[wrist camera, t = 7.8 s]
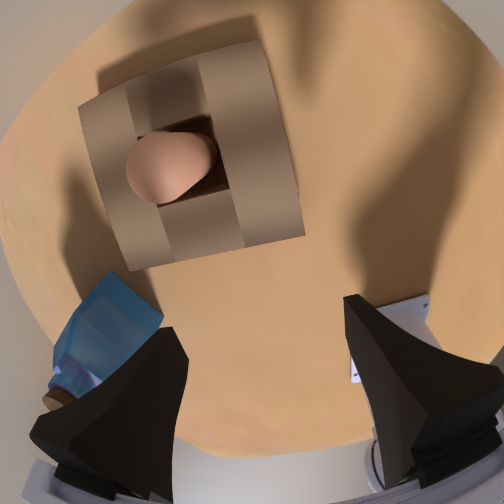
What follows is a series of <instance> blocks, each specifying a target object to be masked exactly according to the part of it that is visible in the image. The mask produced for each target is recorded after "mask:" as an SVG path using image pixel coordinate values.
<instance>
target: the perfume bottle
mask: <svg viewBox="0 0 504 504" xmlns="http://www.w3.org/2000/svg"><path fill="white" fill-rule="evenodd" d="M163 318H164V316H163V315H161V314H160V313H159V312H158V311H157V310H155V309H154V308H153V307H152V306H150V305H149V304H148V303H147V302H146V301H145V300H143V299H142V298H141V297H140V296H139V295H137V294H136V293H135V292H134V291H133V290H132V289H131V288H129V287H128V286H127V285H126V284H125V283H124V282H123V281H122V280H120V279H119V278H118V277H117V276H116V275H115V274H114V273H113V272H112V271H110V272H109V273H108V274H107V275H106V276H105V277H104V278H103V279H102V280H101V282H100V283H99V284H98V285H97V286H96V287H95V288H94V289H93V290H92V292H91V293H90V294H89V295H88V296H87V297H86V298H85V300H84V301H83V302H82V303H81V304H80V305H79V306H78V308H77V309H76V310H75V311H74V313H73V314H72V316H71V318H70V319H69V321H68V323H67V325H66V326H65V328H64V330H63V332H62V333H61V335H60V337H59V339H58V340H57V342H56V344H55V346H54V354H53V356H54V357H53V371H54V372H55V373H56V374H55V375H54V376H53V377H52V379H51V380H50V382H49V384H48V388H49V392H48V393H47V394H46V395H45V396H44V397H42V401H43V403H44V404H45V406H46V407H47V408H48V409H49V410H50V411H53V410H56V409H58V408H60V407H63V406H65V405H67V404H69V403H71V402H72V401H74V400H76V399H78V398H80V397H81V396H83V395H84V394H86V393H87V392H89V391H90V390H92V389H93V388H95V387H96V386H98V385H99V384H100V383H102V382H103V381H104V380H105V379H107V378H108V377H109V376H110V375H112V374H113V373H114V372H115V371H116V370H117V369H118V368H119V367H120V366H121V365H122V364H124V363H125V362H126V361H127V360H128V359H129V358H130V357H131V356H132V355H133V354H134V353H135V352H136V351H137V350H138V349H139V348H140V347H141V346H142V345H143V344H144V343H145V342H146V341H147V340H148V339H149V338H150V337H151V336H152V335H153V334H154V333H155V332H156V331H157V330H158V329H159V327H160V325H161V322H162V320H163Z"/></svg>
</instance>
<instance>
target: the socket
mask: <svg viewBox="0 0 504 504" xmlns="http://www.w3.org/2000/svg"><path fill="white" fill-rule="evenodd" d="M78 112H79V116H80V121H81V126H82V130H83V134H84V138H85V142H86V146H87V150H88V154H89V158H90V161H91V165H92V168H93V172H94V175H95V179H96V182H97V185H98V188H99V191H100V195H101V198H102V201H103V204H104V207H105V209H106V212H107V215H108V218H109V221H110V224H111V226H112V229H113V232H114V234H115V237H116V240H117V242H118V245H119V247H120V250H121V252H122V255H123V257H124V259H125V262H126V264H127V267H128V269H129V271H130V272H131V271H136V270H141V269H146V268H150V267H155V266H160V265H165V264H169V263H174V262H179V261H184V260H188V259H193V258H198V257H203V256H208V255H212V254H217V253H222V252H227V251H232V250H236V249H241V248H246V247H251V246H256V245H261V244H266V243H271V242H275V241H280V240H285V239H290V238H295V237H300V236H305V229H304V223H303V218H302V212H301V207H300V202H299V196H298V191H297V186H296V181H295V176H294V172H293V167H292V162H291V157H290V153H289V148H288V144H287V139H286V135H285V131H284V126H283V122H282V118H281V114H280V110H279V106H278V102H277V98H276V94H275V90H274V86H273V82H272V79H271V75H270V71H269V68H268V64H267V60H266V57H265V53H264V50H263V47H262V43H261V40H260V39H258V40H252V41H247V42H243V43H238V44H234V45H230V46H226V47H222V48H218V49H214V50H211V51H207V52H204V53H200V54H197V55H194V56H191V57H187V58H184V59H181V60H179V61H176V62H173V63H170V64H167V65H165V66H162V67H159V68H157V69H154V70H152V71H149V72H147V73H144V74H142V75H140V76H137V77H135V78H133V79H131V80H129V81H126V82H124V83H122V84H120V85H118V86H116V87H114V88H112V89H110V90H108V91H106V92H104V93H102V94H100V95H98V96H96V97H94V98H93V99H91V100H89V101H87V102H85V103H84V104H82V105H80V106H79V107H78ZM210 117H211V118H212V121H213V125H214V129H215V133H216V137H217V141H218V145H219V148H220V152H221V156H222V160H223V164H224V168H225V171H226V175H227V179H228V182H226V183H222V184H218V185H214V186H210V187H206V188H202V189H199V190H195V191H191V192H188V193H184V194H182V195H181V196H179V197H178V198H177V199H175V200H173V201H171V202H168V203H163V204H155V203H150V202H147V201H145V200H143V199H142V198H140V197H139V196H138V195H137V194H136V193H135V192H134V191H133V190H132V188H131V186H130V185H129V182H128V179H127V175H126V162H127V158H128V155H129V152H130V150H131V149H132V147H133V146H134V145H135V144H136V143H137V142H138V141H139V140H140V139H141V138H143V137H145V136H147V135H150V134H153V133H163V132H166V131H168V130H171V129H174V128H177V127H180V126H184V125H187V124H190V123H193V122H196V121H200V120H203V119H207V118H210Z"/></svg>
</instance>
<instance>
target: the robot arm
mask: <svg viewBox="0 0 504 504" xmlns="http://www.w3.org/2000/svg"><path fill="white" fill-rule="evenodd" d="M343 300H344V316H345V335H346V339H347V343H348V347H349V350H350V354H351V382H352V383H357V382H361V384H362V387H363V390H364V393H365V397H366V400H367V403H368V407H369V410H370V413H371V417H372V420H373V422H374V425H375V426H374V427H373V428H372V431H373V434H374V438H375V439H374V440H372V441H371V442H370V443H369V444H368V446H367V448H366V451H365V458H364V471H365V475H366V479H367V481H368V483H369V485H370V487H371V488H372V490H373V491H374V492H375V493H374V494H370V495H367V496H363V497H359V498H355V499H351V500H346V501H341V502H337V503H331V504H504V503H503V500H504V416H503V414H502V412H501V410H500V408H501V407H502V405H503V404H504V374H503V373H502V372H501V370H500V369H499V368H498V366H493V365H489V364H484V363H479V362H475V361H471V360H468V359H465V358H461V357H458V356H456V355H453V354H450V353H448V352H445V351H444V350H443V349H442V347H441V346H440V344H439V343H438V341H437V340H436V338H435V337H434V335H433V334H432V332H431V331H430V329H429V328H428V326H427V325H426V323H427V317H428V311H429V304H430V297H429V296H428V295H427V294H426V295H422V296H419V297H415V298H412V299H408V300H405V301H401V302H398V303H394V304H391V305H387V306H383V307H379V308H374V307H373V306H372V305H371V304H370V303H368V302H367V301H366V300H365V299H364V298H363V297H361V296H360V295H359V294H355V295H350V296H346V297H343ZM425 303H426V304H425ZM424 304H425V305H424ZM188 364H189V359H188V357H187V355H186V353H185V351H184V349H183V347H182V345H181V343H180V341H179V339H178V337H177V335H176V333H175V331H174V329H173V327H164V328H159V329H158V330H157V331H156V332H155V333H154V334H153V335H152V336H151V337H150V338H149V339H148V340H147V341H146V342H145V343H144V344H143V345H142V346H141V347H140V348H139V349H138V350H137V351H136V352H135V353H134V354H133V355H132V356H131V357H130V358H129V359H128V360H127V361H126V362H125V363H124V364H122V365H121V366H120V367H119V368H118V369H117V370H116V371H115V372H114V373H113V374H112V375H110V376H109V377H108V378H107V379H105V380H104V381H103V382H102V383H100V384H99V385H98V386H96V387H95V388H93V389H92V390H90V391H89V392H87V393H86V394H84V395H83V396H81V397H80V398H78V399H76V400H74V401H72V402H71V403H69V404H67V405H65V406H63V407H60V408H58V409H56V410H53V411H51V412H48V413H46V414H43V415H40V416H39V417H38V419H37V421H36V422H35V424H34V426H33V428H32V430H31V432H30V434H29V436H30V439H31V440H32V441H33V442H34V443H35V444H36V445H37V446H38V447H39V448H40V449H41V450H42V451H44V452H45V453H46V454H47V455H49V456H50V457H51V458H52V459H54V460H55V461H56V462H58V463H59V464H58V466H57V468H56V467H55V466H53V465H51V464H49V463H47V462H45V461H43V460H41V459H39V458H36V460H35V462H34V465H33V467H32V469H31V471H30V474H29V476H28V479H27V481H26V483H25V486H24V489H23V491H22V494H21V496H22V497H23V498H24V499H26V500H27V501H29V502H30V503H31V504H173V493H172V451H173V441H174V432H175V425H176V420H177V416H178V412H179V408H180V404H181V401H182V397H183V393H184V389H185V385H186V381H187V374H188Z"/></svg>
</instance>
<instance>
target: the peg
mask: <svg viewBox="0 0 504 504" xmlns="http://www.w3.org/2000/svg"><path fill="white" fill-rule="evenodd" d="M216 161H217V149H216V146H215V144H214V142H213V141H212V140H211V139H210V138H209V137H208V136H206V135H204V134H202V133H197V132H173V133H153V134H150V135H147V136H145V137H143V138H141V139H140V140H139V141H138V142H137V143H136V144H135V145H134V146H133V147H132V149H131V150H130V152H129V155H128V158H127V162H126V175H127V179H128V182H129V185H130V186H131V188H132V190H133V191H134V192H135V193H136V194H137V195H138V196H139V197H140V198H142V199H143V200H145V201H147V202H150V203H155V204H163V203H168V202H171V201H173V200H175V199H177V198H178V197H179V196H181V195H182V194H183V193H184V192H186V191H187V190H188V189H189V188H191V187H192V186H193V185H194V184H196V183H197V182H198V181H199V180H201V179H202V178H203V177H204V176H206V175H207V174H208V173H209V172H210V171H211V170H212V169H213V168H214V166H215V164H216Z"/></svg>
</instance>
